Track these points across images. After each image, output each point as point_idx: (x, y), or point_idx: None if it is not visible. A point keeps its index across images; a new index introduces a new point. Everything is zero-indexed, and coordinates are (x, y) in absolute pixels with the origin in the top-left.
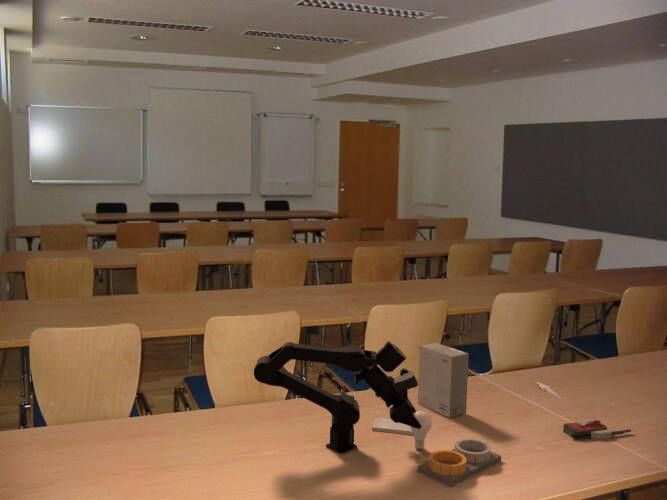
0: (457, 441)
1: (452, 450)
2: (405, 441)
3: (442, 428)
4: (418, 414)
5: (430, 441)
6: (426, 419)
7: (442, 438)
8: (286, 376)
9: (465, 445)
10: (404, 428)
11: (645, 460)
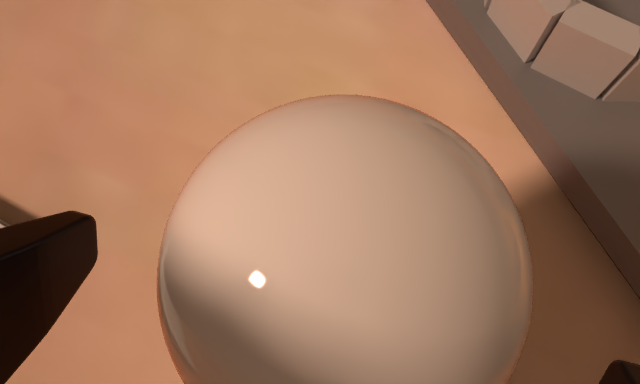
0: (548, 4)
1: (526, 88)
2: (166, 380)
3: (49, 3)
4: (420, 326)
5: None
6: (512, 209)
7: (207, 64)
8: None
9: None
10: None
11: None
